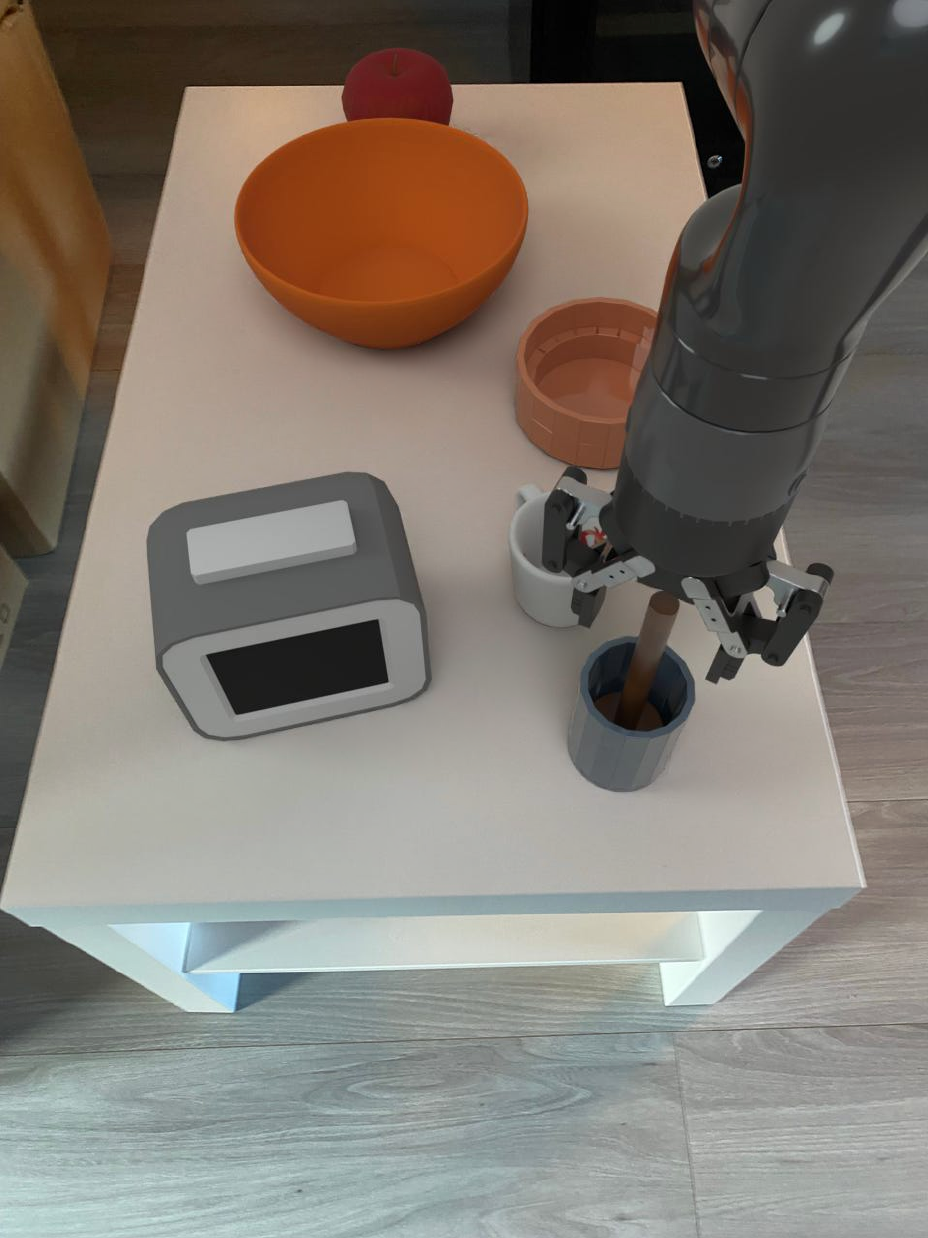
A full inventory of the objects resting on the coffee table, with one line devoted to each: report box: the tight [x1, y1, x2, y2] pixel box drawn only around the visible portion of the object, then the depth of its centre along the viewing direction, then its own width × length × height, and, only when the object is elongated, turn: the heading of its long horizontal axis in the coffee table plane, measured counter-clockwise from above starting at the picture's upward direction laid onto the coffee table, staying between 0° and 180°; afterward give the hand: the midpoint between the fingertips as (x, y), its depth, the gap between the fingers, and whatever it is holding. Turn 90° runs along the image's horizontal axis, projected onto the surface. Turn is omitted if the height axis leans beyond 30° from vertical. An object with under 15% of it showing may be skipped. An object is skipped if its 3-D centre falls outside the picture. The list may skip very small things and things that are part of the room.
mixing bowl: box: [513, 296, 658, 470], centre depth 79 cm, size 14×14×6 cm
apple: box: [340, 47, 454, 126], centre depth 95 cm, size 11×11×12 cm
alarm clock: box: [145, 471, 432, 742], centre depth 63 cm, size 16×11×16 cm
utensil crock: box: [567, 635, 696, 793], centre depth 62 cm, size 7×7×9 cm
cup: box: [507, 482, 607, 628], centre depth 69 cm, size 11×8×8 cm
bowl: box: [233, 118, 530, 350], centre depth 85 cm, size 25×25×10 cm
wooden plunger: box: [594, 590, 681, 732], centre depth 58 cm, size 5×5×18 cm
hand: (651, 641), depth 53 cm, fingers open, 7 cm apart
